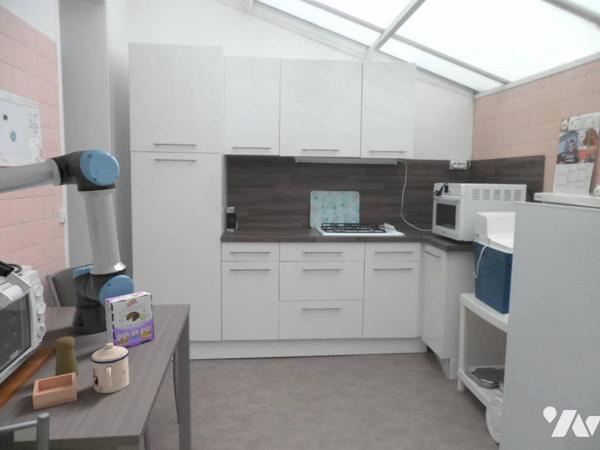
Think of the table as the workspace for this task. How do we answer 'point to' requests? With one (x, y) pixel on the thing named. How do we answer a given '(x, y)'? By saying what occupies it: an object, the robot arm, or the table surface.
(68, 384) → the tray
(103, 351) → the teacup with lid
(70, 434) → the table surface
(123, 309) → the candy box
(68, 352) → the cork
